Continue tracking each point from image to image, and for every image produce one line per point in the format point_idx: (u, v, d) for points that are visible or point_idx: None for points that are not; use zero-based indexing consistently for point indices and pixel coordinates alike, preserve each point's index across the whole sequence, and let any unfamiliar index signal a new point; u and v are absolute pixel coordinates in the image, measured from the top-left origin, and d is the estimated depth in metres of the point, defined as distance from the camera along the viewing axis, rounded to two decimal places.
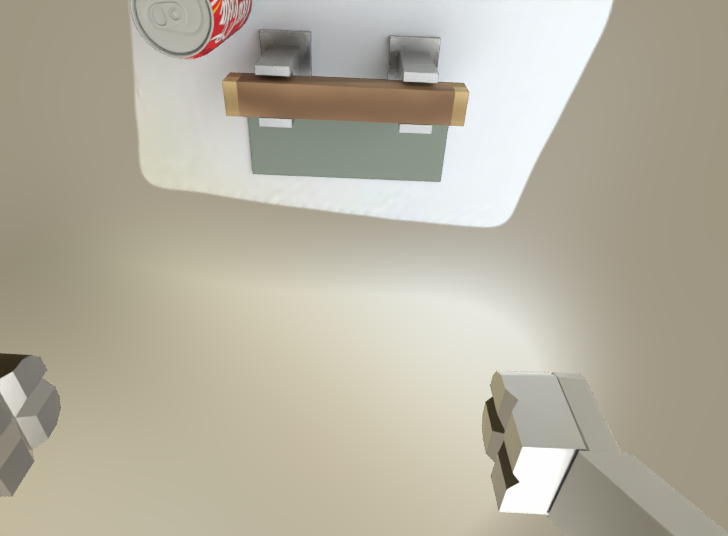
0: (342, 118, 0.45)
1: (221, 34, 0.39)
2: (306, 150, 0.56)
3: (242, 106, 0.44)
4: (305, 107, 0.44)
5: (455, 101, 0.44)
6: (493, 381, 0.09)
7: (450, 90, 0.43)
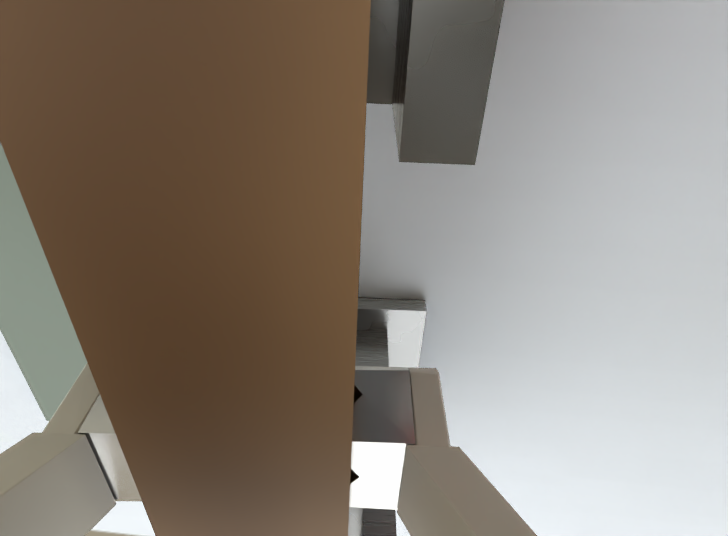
0: (153, 491, 0.07)
1: None
2: None
3: None
4: (171, 319, 0.05)
5: None
6: None
7: None
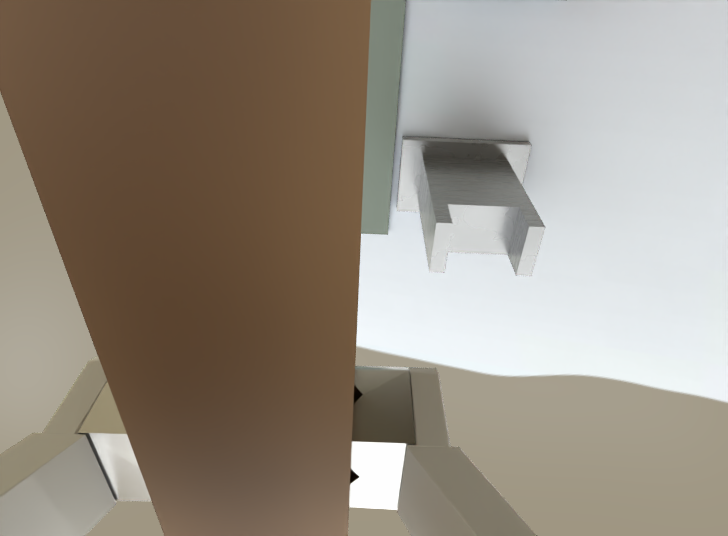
0: (158, 479, 0.07)
1: None
2: None
3: None
4: (178, 307, 0.05)
5: None
6: None
7: None
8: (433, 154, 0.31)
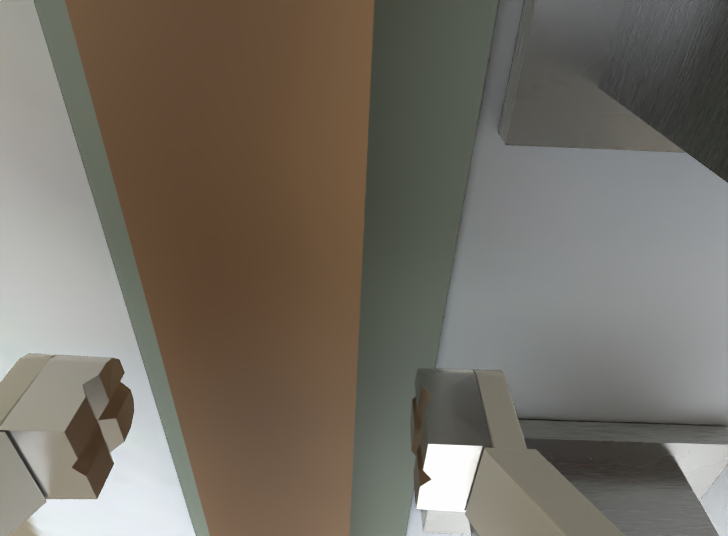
0: (188, 410, 0.08)
1: None
2: None
3: None
4: (213, 247, 0.06)
5: None
6: (416, 378, 0.09)
7: None
8: None
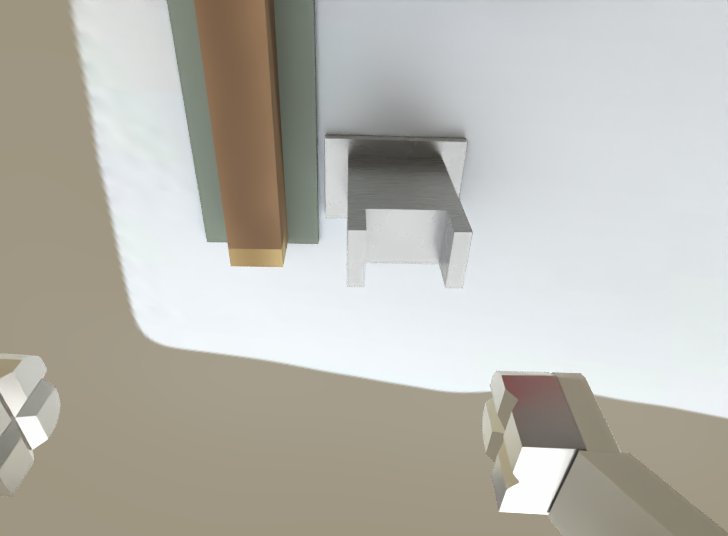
0: (207, 67, 0.23)
1: None
2: None
3: None
4: None
5: (267, 251, 0.28)
6: (493, 381, 0.09)
7: (281, 240, 0.28)
8: (360, 154, 0.28)
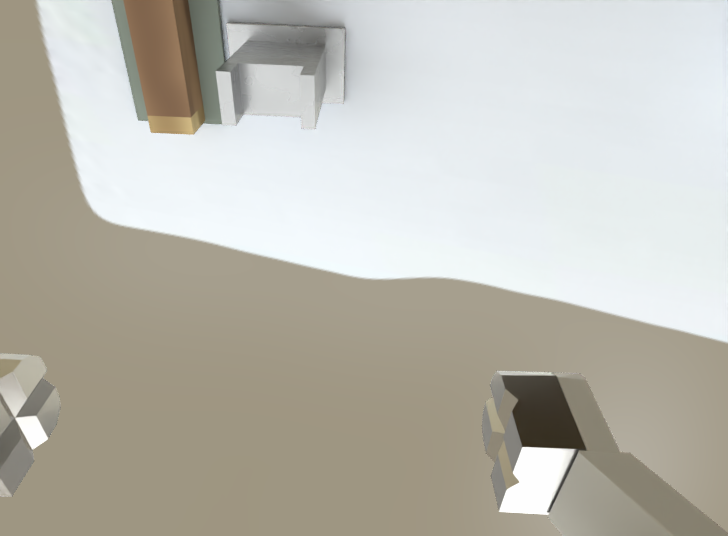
0: None
1: None
2: None
3: None
4: None
5: (179, 119, 0.34)
6: (493, 381, 0.09)
7: (191, 110, 0.34)
8: (256, 39, 0.34)
